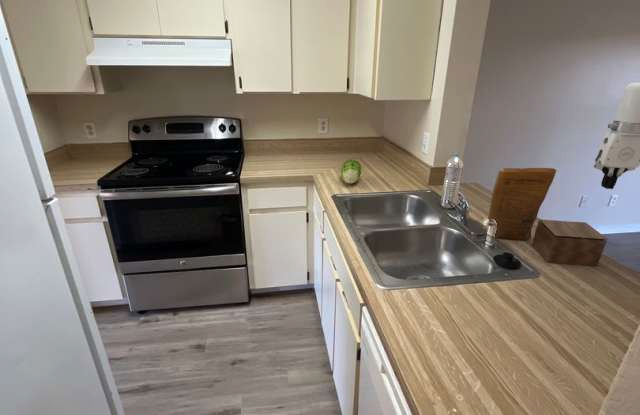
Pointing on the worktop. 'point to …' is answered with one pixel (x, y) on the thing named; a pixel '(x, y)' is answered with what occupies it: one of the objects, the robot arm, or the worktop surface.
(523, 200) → the wooden cutting board
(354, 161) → the lettuce
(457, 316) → the worktop surface
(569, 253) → the carton
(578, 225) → the flap
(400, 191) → the worktop surface
